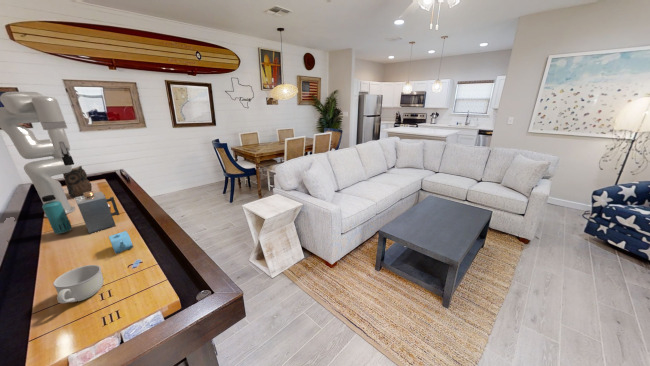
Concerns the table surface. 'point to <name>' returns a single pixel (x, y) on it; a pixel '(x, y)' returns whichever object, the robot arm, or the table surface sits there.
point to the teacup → (78, 283)
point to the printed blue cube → (121, 242)
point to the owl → (77, 182)
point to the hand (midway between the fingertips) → (69, 164)
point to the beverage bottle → (56, 215)
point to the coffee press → (97, 212)
